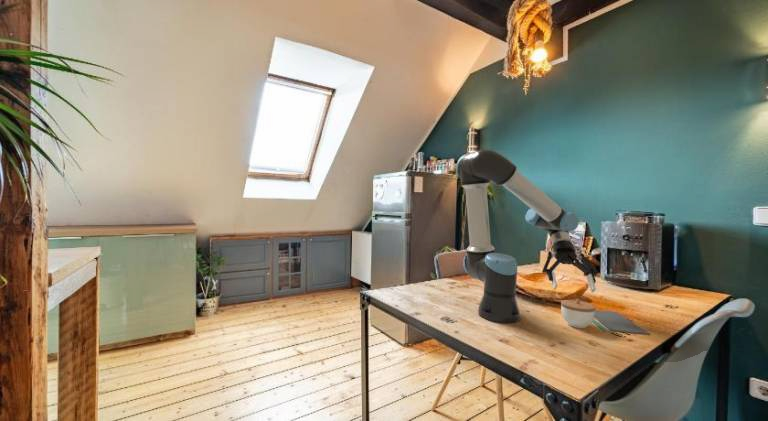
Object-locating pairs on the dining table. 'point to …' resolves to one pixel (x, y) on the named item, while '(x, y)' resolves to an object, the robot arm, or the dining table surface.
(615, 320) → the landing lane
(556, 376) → the dining table surface
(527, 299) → the dining table surface
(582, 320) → the lidded jar
